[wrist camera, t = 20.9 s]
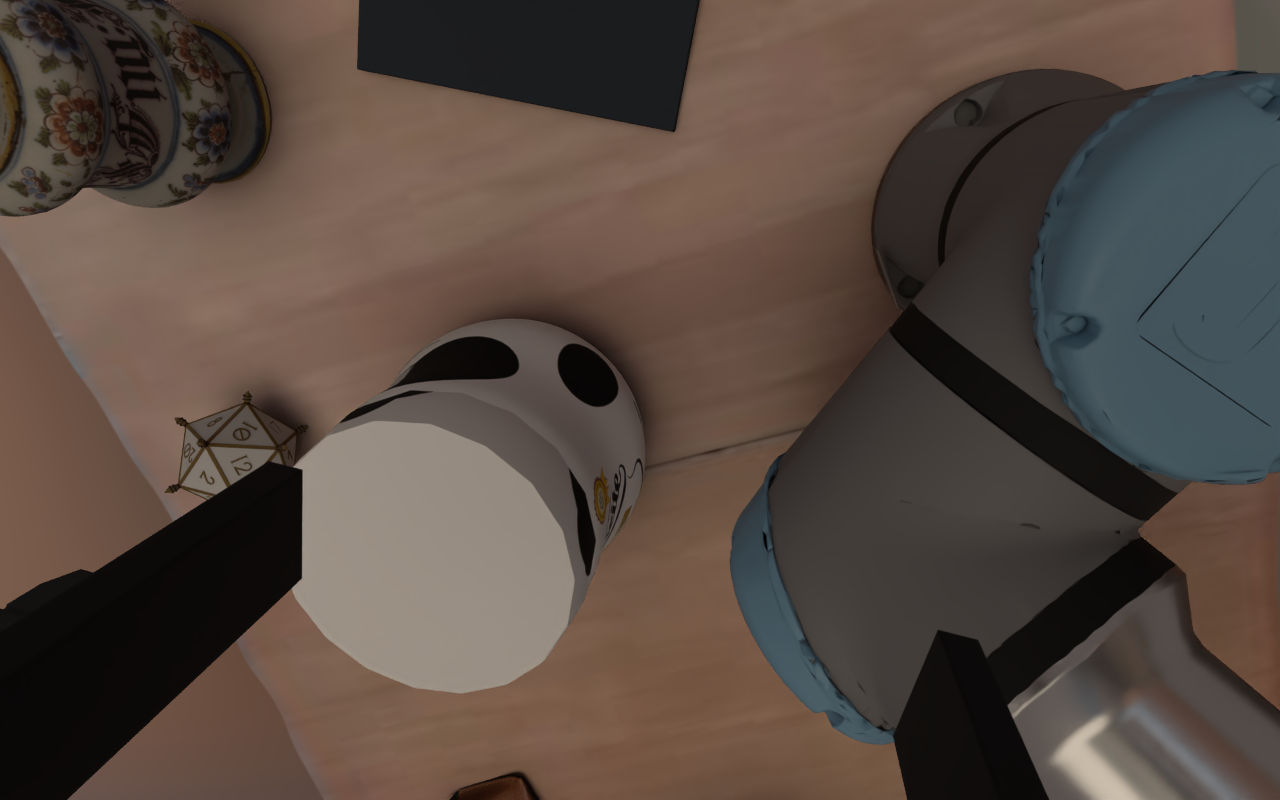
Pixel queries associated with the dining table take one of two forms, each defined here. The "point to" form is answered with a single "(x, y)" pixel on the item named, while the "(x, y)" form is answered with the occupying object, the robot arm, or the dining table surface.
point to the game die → (232, 448)
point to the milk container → (469, 505)
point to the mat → (540, 51)
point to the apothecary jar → (121, 104)
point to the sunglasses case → (497, 790)
